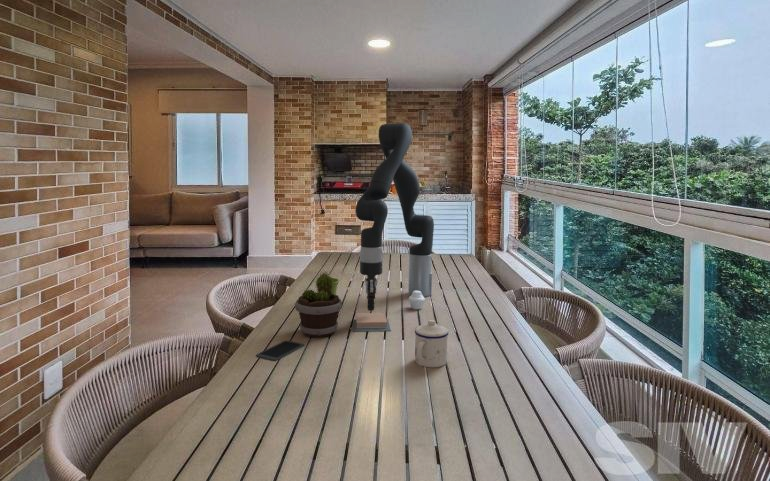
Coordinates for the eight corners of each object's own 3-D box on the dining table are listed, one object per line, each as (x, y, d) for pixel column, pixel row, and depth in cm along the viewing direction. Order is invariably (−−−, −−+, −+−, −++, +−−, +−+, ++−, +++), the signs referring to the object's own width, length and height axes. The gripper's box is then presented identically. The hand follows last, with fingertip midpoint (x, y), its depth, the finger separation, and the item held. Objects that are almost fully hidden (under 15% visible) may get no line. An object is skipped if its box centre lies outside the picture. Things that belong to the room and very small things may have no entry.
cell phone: (254, 357, 135) (254, 355, 135) (285, 342, 148) (285, 339, 147) (275, 362, 132) (275, 360, 132) (305, 346, 144) (305, 344, 144)
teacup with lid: (423, 352, 139) (424, 313, 138) (452, 359, 135) (454, 319, 133) (402, 367, 129) (403, 325, 128) (433, 375, 125) (434, 331, 123)
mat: (387, 319, 169) (387, 319, 169) (390, 331, 157) (390, 330, 157) (353, 319, 168) (353, 319, 168) (353, 331, 157) (353, 331, 157)
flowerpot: (323, 344, 145) (322, 278, 142) (285, 334, 153) (284, 272, 150) (351, 330, 157) (352, 270, 154) (315, 322, 165) (314, 264, 162)
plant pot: (335, 305, 185) (335, 283, 184) (311, 304, 187) (311, 282, 186) (342, 299, 194) (342, 278, 193) (319, 297, 196) (319, 276, 195)
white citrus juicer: (423, 311, 180) (424, 292, 179) (407, 309, 181) (407, 291, 180) (425, 306, 186) (426, 288, 185) (409, 305, 187) (410, 287, 186)
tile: (384, 313, 169) (387, 322, 160) (384, 318, 170) (387, 328, 160) (356, 313, 169) (356, 322, 159) (356, 318, 169) (356, 328, 159)
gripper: (383, 263, 156) (383, 315, 159) (381, 256, 169) (380, 304, 172) (360, 263, 156) (360, 315, 158) (359, 256, 169) (359, 304, 171)
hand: (370, 309), depth 165 cm, fingers closed
